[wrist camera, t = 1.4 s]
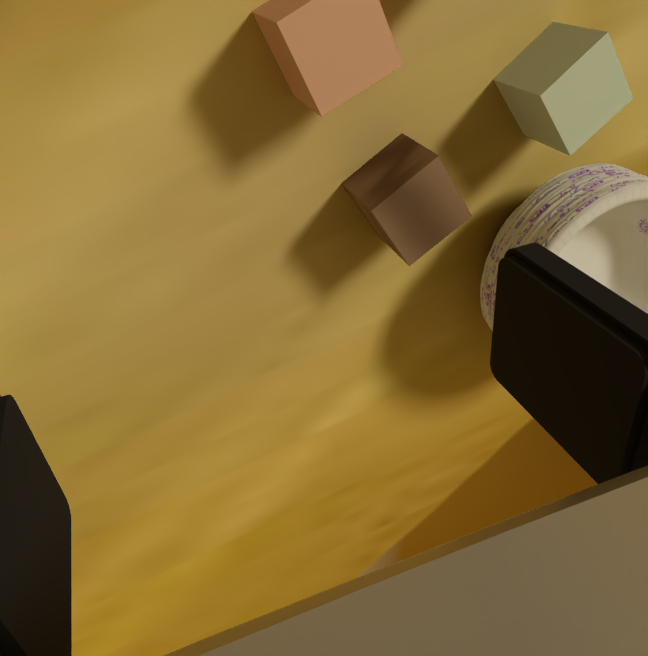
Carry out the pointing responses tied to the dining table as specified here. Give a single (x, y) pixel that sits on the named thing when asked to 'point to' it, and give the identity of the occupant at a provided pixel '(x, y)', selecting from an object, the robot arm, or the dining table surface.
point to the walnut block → (408, 198)
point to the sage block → (564, 86)
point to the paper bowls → (582, 230)
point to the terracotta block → (328, 47)
